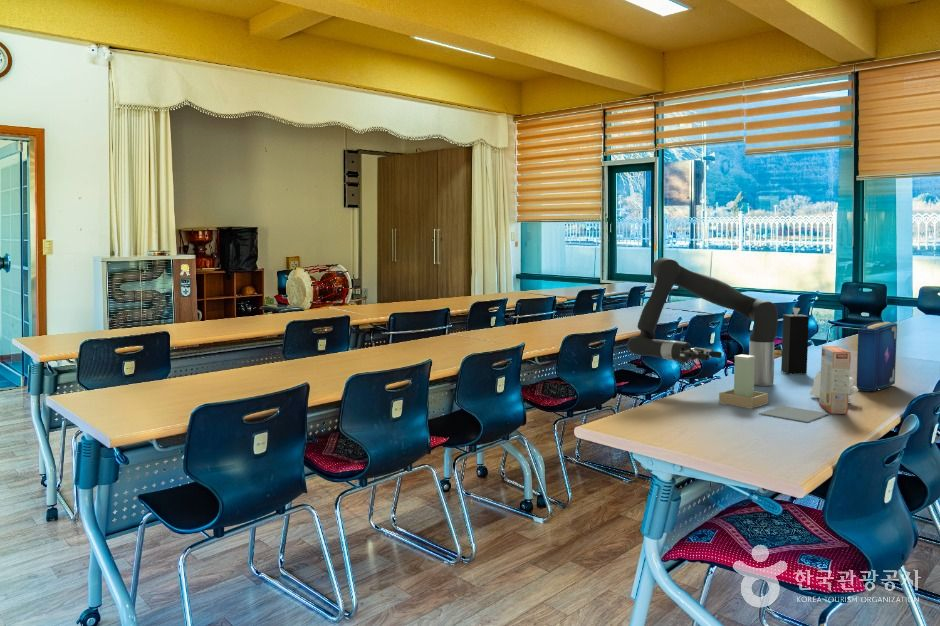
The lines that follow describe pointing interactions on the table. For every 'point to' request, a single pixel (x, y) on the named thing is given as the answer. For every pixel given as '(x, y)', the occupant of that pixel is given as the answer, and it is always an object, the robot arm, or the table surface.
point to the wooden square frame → (743, 399)
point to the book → (876, 356)
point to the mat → (794, 414)
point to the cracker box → (835, 379)
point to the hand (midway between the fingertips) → (715, 356)
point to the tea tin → (744, 375)
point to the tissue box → (795, 343)
